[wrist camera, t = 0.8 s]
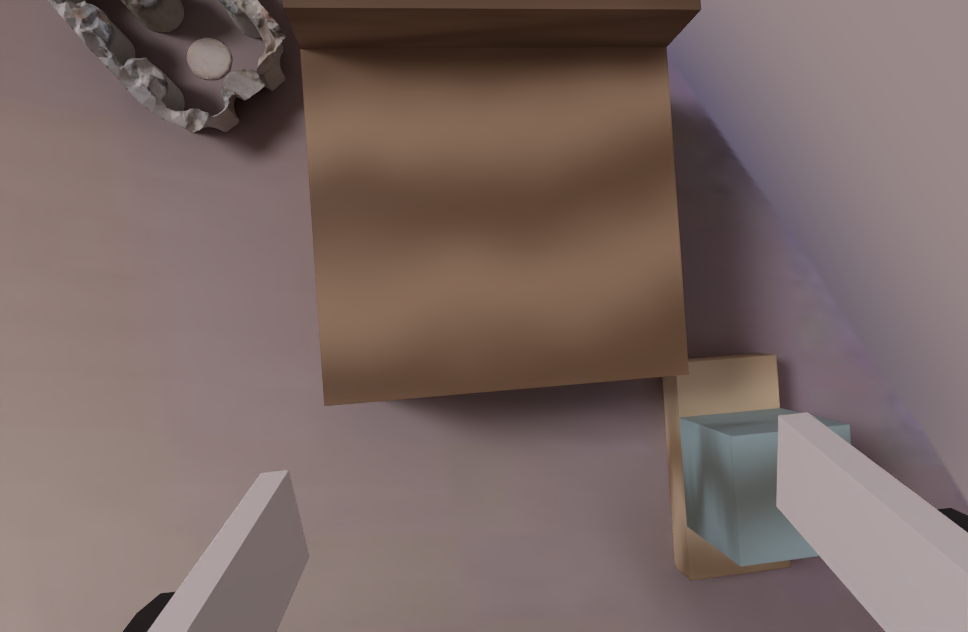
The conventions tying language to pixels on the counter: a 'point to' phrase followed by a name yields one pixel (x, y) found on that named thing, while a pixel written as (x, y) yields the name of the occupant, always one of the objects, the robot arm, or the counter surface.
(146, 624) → the robot arm
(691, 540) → the blue cube on tile
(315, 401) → the counter surface
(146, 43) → the counter surface
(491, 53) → the dock
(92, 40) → the miniature stone ruin
